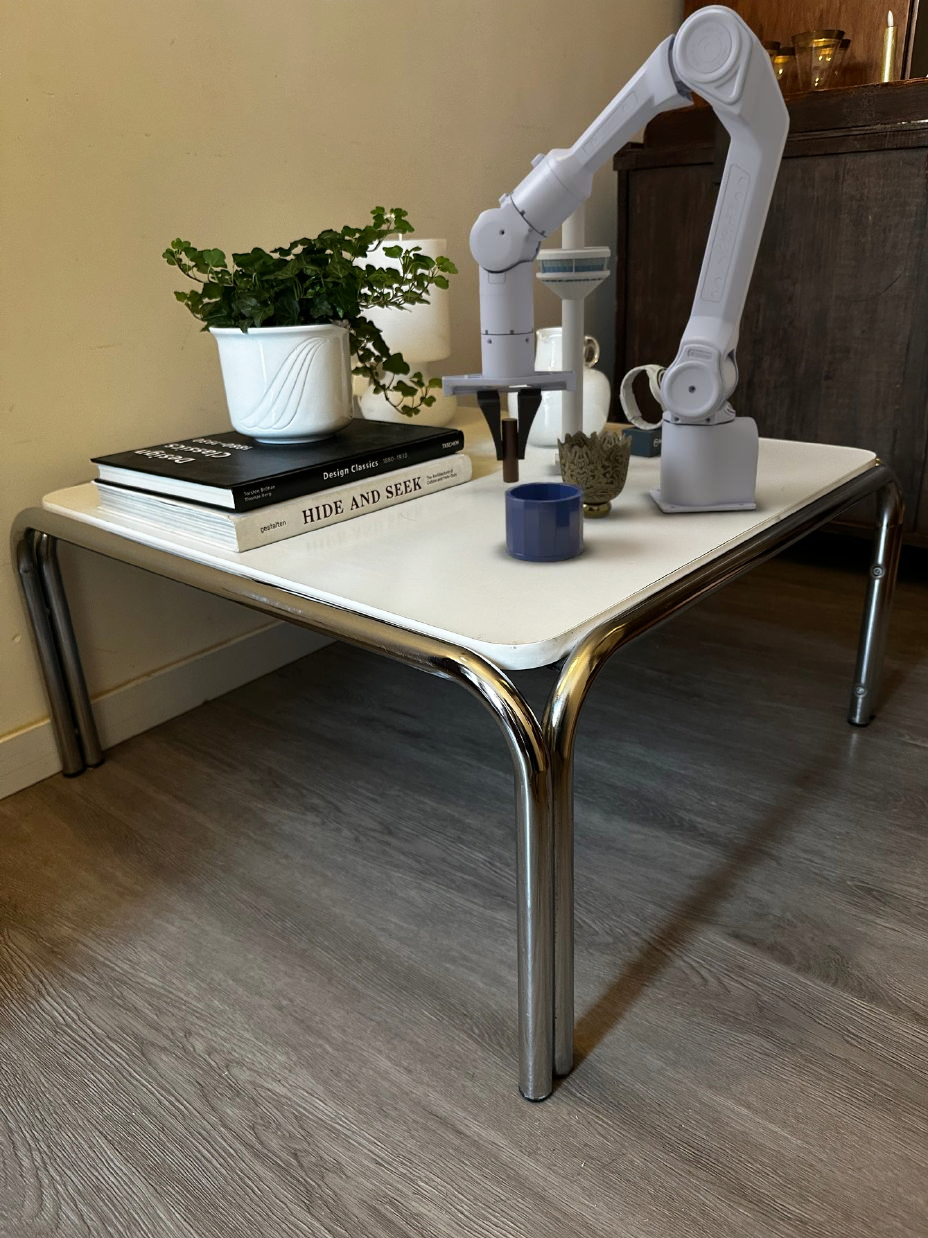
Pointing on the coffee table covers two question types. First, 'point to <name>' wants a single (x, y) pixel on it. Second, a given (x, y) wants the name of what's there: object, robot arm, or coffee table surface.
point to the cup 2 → (595, 468)
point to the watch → (643, 433)
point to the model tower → (573, 305)
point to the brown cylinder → (510, 450)
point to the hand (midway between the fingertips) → (510, 458)
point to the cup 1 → (544, 521)
